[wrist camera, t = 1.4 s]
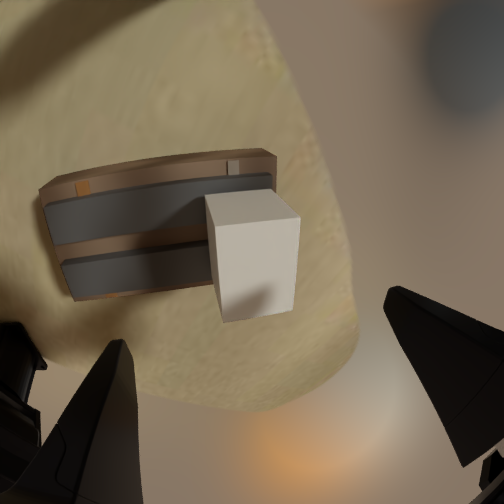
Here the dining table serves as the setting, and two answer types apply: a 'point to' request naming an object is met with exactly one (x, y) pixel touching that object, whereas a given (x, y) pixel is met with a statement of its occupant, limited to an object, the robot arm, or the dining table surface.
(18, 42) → the dining table surface
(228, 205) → the block
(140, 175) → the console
